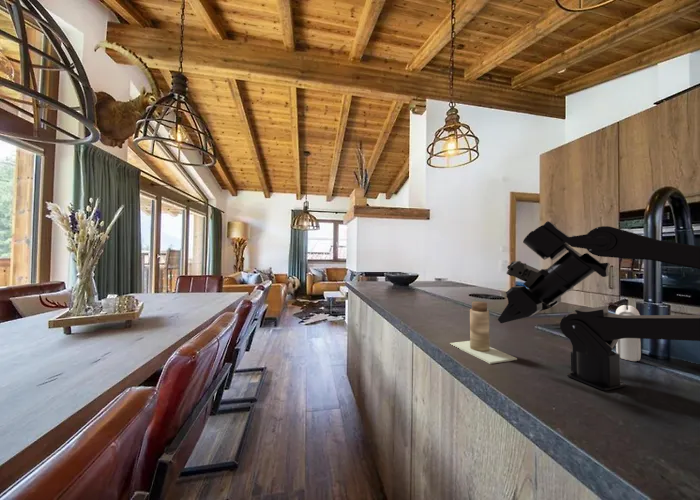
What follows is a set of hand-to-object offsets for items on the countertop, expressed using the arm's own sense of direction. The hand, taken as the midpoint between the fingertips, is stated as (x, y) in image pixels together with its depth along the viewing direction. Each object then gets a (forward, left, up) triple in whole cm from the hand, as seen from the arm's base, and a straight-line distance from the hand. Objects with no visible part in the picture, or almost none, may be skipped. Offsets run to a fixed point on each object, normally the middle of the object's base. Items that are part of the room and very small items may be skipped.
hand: (507, 318), depth 65 cm
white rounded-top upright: (-8, -30, -10) cm, 32 cm away
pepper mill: (+6, +3, -9) cm, 11 cm away
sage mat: (+5, +3, -9) cm, 11 cm away
